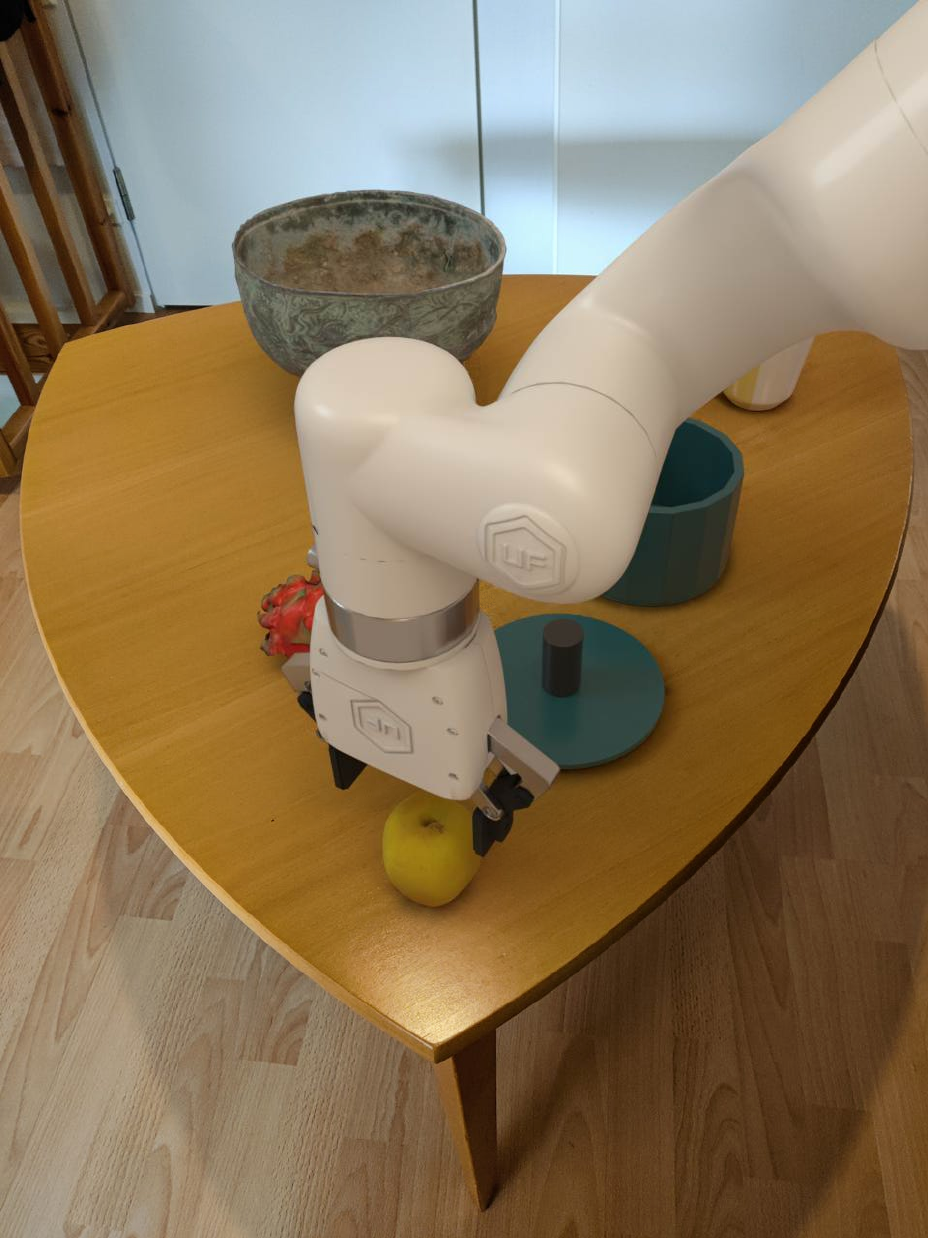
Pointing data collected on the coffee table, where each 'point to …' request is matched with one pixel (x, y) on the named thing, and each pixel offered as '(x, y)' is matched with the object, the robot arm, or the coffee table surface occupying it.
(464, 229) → the decorative bowl
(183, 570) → the coffee table surface
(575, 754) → the lid
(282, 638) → the dragon fruit
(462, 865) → the apple
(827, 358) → the coffee table surface
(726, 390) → the mug
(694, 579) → the pot
